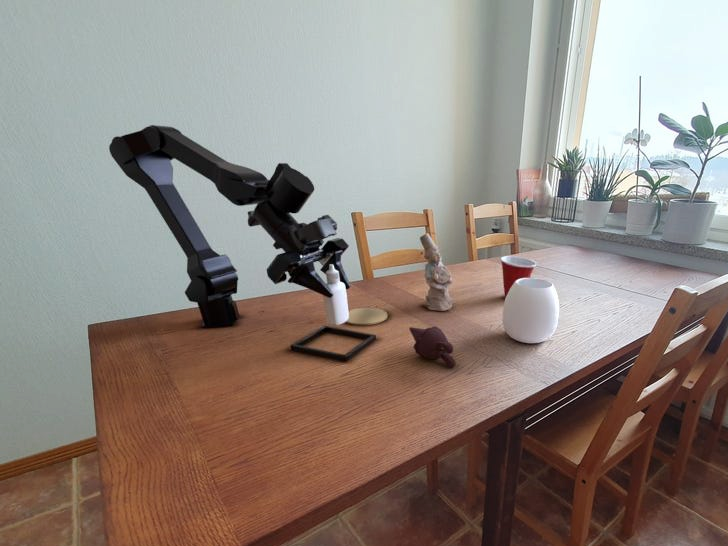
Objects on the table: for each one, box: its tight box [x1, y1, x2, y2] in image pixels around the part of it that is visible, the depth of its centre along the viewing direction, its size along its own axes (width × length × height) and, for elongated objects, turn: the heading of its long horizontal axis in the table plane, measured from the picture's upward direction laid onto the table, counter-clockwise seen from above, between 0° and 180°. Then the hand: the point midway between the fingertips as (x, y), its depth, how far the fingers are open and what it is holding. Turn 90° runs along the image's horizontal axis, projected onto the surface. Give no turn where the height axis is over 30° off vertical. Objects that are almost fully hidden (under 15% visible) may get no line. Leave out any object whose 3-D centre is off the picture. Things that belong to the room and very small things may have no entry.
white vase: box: [501, 277, 560, 344], centre depth 88 cm, size 13×13×14 cm
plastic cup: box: [500, 255, 537, 299], centre depth 113 cm, size 11×11×12 cm
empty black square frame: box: [289, 325, 377, 363], centre depth 82 cm, size 13×11×1 cm
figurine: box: [419, 232, 453, 312], centre depth 101 cm, size 9×8×20 cm
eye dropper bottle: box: [322, 264, 350, 326], centre depth 76 cm, size 4×6×12 cm
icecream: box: [408, 326, 457, 368], centre depth 78 cm, size 7×7×15 cm
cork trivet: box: [345, 307, 388, 326], centre depth 96 cm, size 11×11×1 cm
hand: (340, 292), depth 76 cm, fingers closed on eye dropper bottle, 5 cm apart
